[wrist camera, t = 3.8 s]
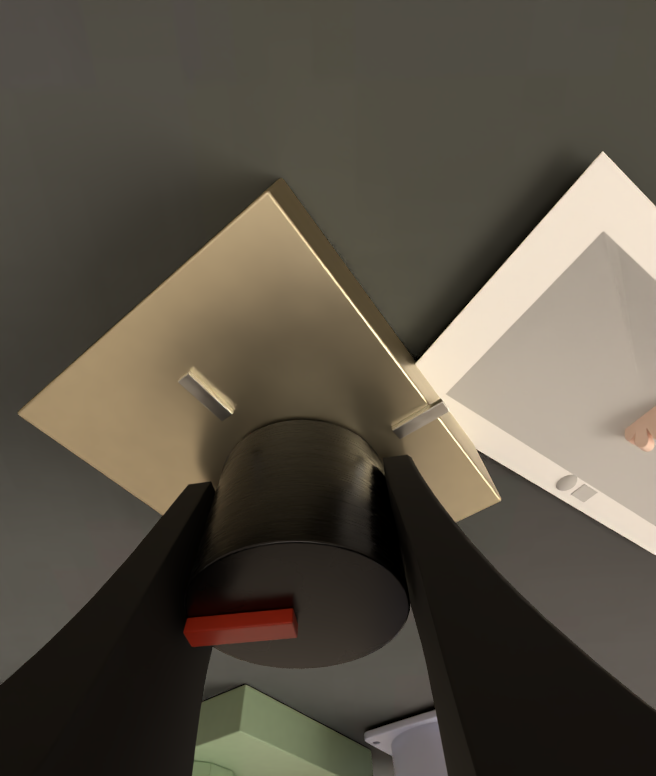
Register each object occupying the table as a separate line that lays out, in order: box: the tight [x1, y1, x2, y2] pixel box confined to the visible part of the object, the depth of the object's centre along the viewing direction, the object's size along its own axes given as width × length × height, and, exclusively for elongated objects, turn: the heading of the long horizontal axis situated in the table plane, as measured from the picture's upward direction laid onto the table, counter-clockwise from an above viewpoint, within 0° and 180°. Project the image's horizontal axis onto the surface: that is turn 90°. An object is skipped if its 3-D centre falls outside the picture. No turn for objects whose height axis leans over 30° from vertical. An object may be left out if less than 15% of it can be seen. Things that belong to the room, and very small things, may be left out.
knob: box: [183, 420, 410, 669], centre depth 9 cm, size 4×4×4 cm
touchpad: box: [415, 151, 656, 555], centre depth 13 cm, size 8×15×2 cm, turn 56°
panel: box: [17, 178, 501, 522], centre depth 12 cm, size 10×9×3 cm
